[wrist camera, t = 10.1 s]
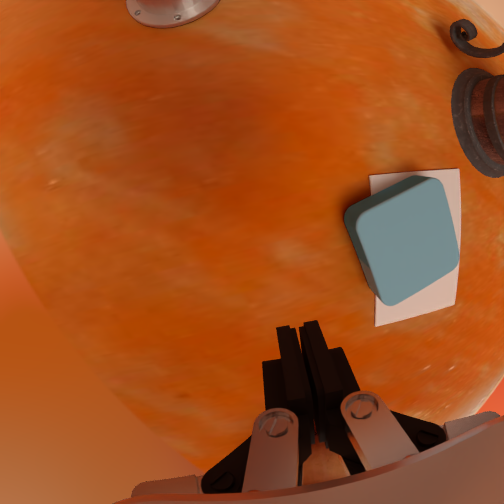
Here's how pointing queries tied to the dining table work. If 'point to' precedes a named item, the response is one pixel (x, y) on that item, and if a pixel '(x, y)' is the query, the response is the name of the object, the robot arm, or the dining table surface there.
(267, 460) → the robot arm
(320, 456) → the butternut squash
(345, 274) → the dining table surface
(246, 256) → the dining table surface
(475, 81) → the tankard
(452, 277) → the mat
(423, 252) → the data package
